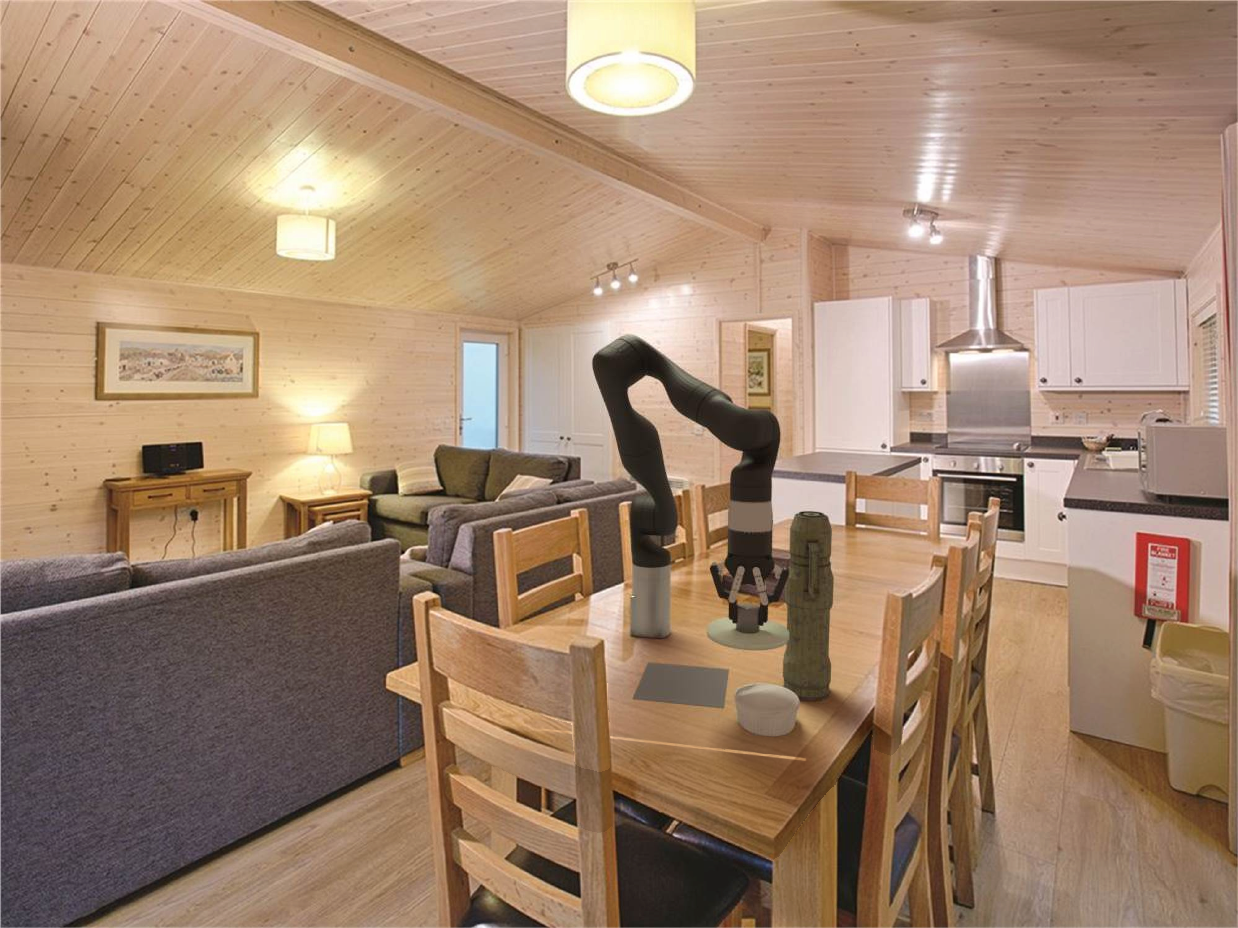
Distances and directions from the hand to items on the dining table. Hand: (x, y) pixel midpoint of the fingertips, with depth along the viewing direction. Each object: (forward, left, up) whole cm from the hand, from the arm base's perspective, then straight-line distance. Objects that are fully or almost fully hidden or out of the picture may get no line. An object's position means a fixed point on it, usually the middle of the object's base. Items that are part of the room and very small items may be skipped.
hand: (748, 622), depth 113 cm
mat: (-13, +11, -18) cm, 25 cm away
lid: (0, 0, -2) cm, 2 cm away
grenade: (+11, +14, -18) cm, 26 cm away
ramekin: (+3, -1, -18) cm, 19 cm away
